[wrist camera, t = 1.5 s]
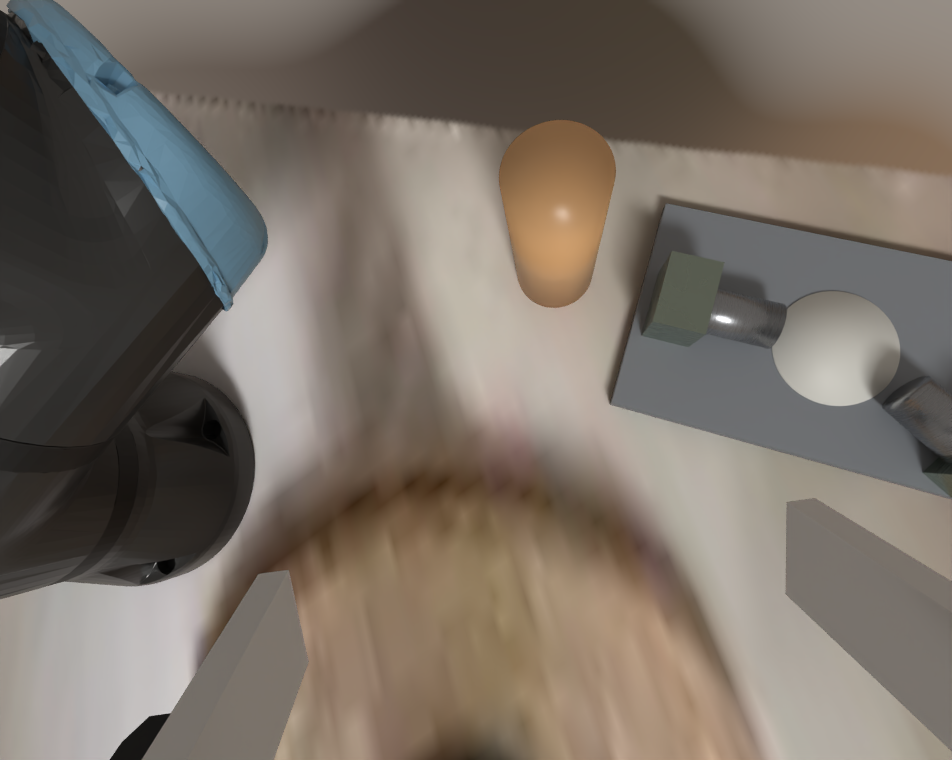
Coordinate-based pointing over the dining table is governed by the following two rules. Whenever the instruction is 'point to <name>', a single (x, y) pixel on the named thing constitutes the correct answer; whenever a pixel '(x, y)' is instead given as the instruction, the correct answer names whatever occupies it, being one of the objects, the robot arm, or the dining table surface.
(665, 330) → the shaft
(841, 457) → the plate
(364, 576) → the dining table surface
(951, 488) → the shaft
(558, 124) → the orange cylinder
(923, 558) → the dining table surface
